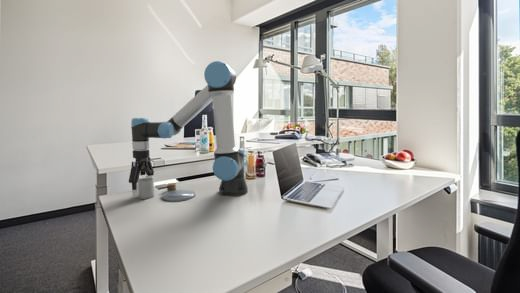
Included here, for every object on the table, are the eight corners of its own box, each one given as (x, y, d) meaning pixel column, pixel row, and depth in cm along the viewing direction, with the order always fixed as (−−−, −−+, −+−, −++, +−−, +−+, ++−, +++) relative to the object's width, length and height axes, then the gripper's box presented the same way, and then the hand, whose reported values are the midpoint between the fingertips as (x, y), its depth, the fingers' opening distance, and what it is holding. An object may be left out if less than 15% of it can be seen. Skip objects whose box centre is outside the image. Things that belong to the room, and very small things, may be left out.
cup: (154, 198, 140) (153, 180, 139) (132, 200, 136) (131, 182, 135) (153, 194, 146) (153, 177, 145) (132, 196, 143) (131, 179, 141)
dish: (199, 192, 150) (199, 189, 150) (189, 201, 134) (188, 199, 134) (170, 191, 151) (169, 189, 151) (156, 200, 135) (156, 198, 135)
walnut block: (176, 190, 154) (175, 183, 153) (175, 192, 150) (174, 185, 149) (168, 190, 153) (168, 183, 152) (167, 192, 149) (167, 185, 148)
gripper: (146, 146, 151) (147, 184, 154) (118, 153, 126) (121, 199, 129) (159, 146, 150) (160, 185, 153) (134, 153, 125) (137, 200, 128)
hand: (142, 191), depth 141 cm, fingers open, 13 cm apart
